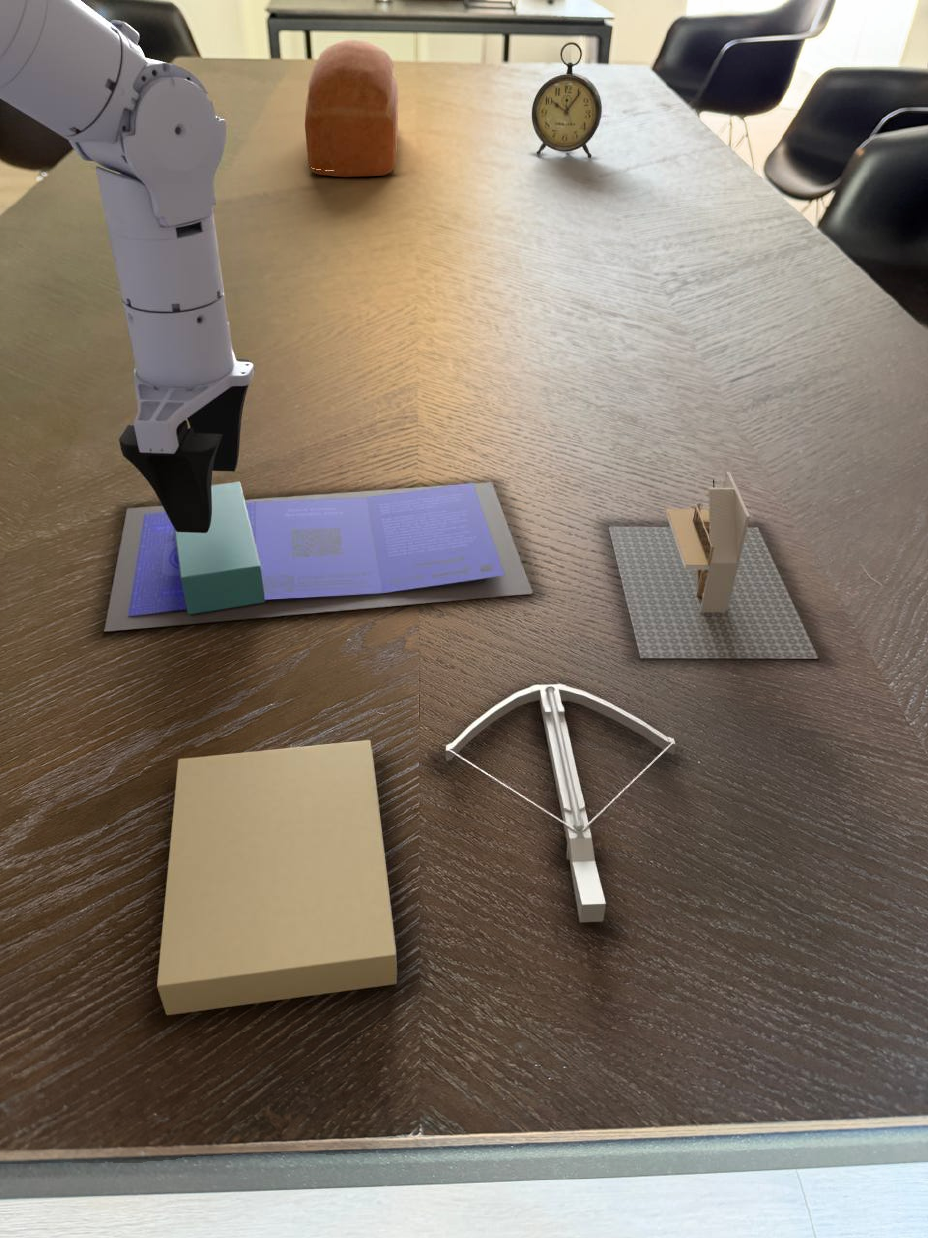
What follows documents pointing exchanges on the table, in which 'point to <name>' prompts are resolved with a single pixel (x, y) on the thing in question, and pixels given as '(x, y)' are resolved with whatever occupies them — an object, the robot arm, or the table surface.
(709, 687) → the table surface
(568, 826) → the crossbow
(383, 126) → the bread
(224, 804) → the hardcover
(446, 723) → the table surface
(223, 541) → the teal rectangular block
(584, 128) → the alarm clock
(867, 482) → the table surface
